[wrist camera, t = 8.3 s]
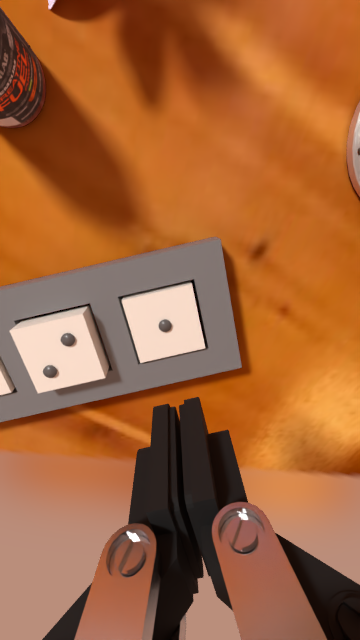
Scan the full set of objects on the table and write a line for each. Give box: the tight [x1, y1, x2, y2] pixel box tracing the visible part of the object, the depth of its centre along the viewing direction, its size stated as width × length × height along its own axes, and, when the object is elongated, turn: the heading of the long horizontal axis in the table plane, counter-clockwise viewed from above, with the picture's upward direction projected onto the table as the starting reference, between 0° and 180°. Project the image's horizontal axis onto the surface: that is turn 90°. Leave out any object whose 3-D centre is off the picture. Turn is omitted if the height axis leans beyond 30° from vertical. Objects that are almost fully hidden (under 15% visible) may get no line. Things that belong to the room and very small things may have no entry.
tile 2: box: [10, 305, 110, 393], centre depth 26 cm, size 6×6×3 cm
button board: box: [0, 237, 242, 422], centre depth 28 cm, size 30×12×2 cm, turn 103°
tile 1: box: [122, 280, 205, 363], centre depth 27 cm, size 6×6×3 cm
